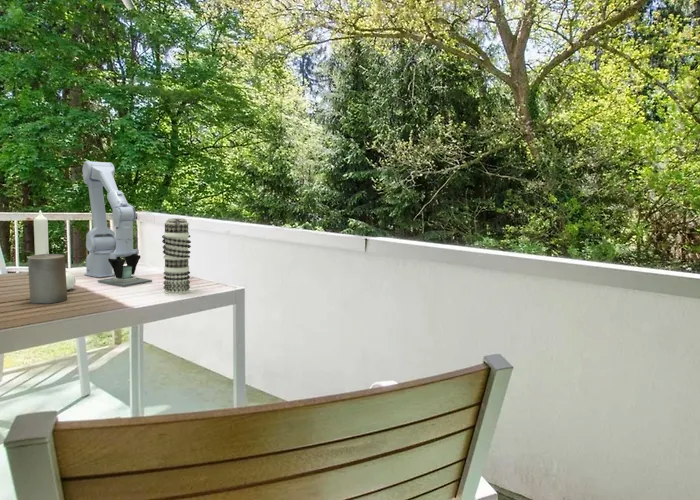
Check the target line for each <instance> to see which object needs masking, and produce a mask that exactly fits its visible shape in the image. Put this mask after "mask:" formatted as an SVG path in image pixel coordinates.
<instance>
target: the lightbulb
mask: <svg viewBox="0 0 700 500" xmlns="http://www.w3.org/2000/svg"><path fill="white" fill-rule="evenodd" d="M76 280H77V279H76V276H75V275H74V274H73V273H72V272H70V271H67V270H66V285H67V291H69V290H70V289H72V288H74V287H75V285H76Z"/></svg>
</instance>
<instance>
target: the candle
mask: <svg viewBox="0 0 700 500" xmlns="http://www.w3.org/2000/svg"><path fill="white" fill-rule="evenodd" d="M48 222H49V221H48V218H47V217H46V216H44V214H43V212H42V210H41V209H40V210H39V211H38V215H37V216H36V217H34V218H33V237H34V238H33V239H34V242H33V243H34V255H40V254H46V253H47V252H48V253H47V254H50V253H49V252H50V251H49V247H50V246H49V226H48V225H49V224H48Z"/></svg>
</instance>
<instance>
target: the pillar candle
mask: <svg viewBox="0 0 700 500" xmlns="http://www.w3.org/2000/svg"><path fill="white" fill-rule="evenodd" d="M47 253H48V252H47ZM47 253H46V254H40V255H35V254H33V255H29V256H27V258H26V259H27V265H28V268H27V269H28V284H29V285H28V287H29V301H30V303H31V304H55V303H61V302H63V301H64V302H65V301H66V300H67V299H68V290H67V285H66V271H67V269H66V257H65V254H63V253H62V254H61V253H49V254H47Z"/></svg>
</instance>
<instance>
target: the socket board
mask: <svg viewBox="0 0 700 500" xmlns="http://www.w3.org/2000/svg"><path fill="white" fill-rule="evenodd" d="M152 282H153V280H152V279H148V278H141V277H137V276H135V275H132V278H129V279H119V278H116V277H115V276H114V277H111V278H103V279H98V280H97V283H98V284H106V285H109V286H110V285H112V286H115V285H116V287H121V286H122V288H127V287H132V286H137V285H144V284H147V283H148V284H149V283H152Z"/></svg>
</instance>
